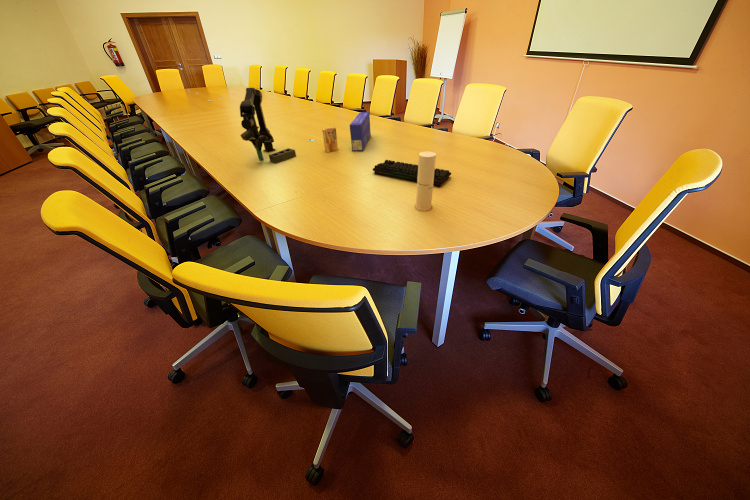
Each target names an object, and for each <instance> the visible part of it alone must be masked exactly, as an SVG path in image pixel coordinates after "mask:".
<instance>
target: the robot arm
mask: <svg viewBox="0 0 750 500" xmlns="http://www.w3.org/2000/svg"><path fill="white" fill-rule="evenodd" d="M262 103H263V93H262V91H261V90H260V89H258V88H255V87H246V88H245V95H244V99H243V100H242V101H241V102H240V104H239V114H240V118H242V120H241V122H240V124H241V125H240V126H241V127H242V128H243V129H244V130H245V131H243V132H242V133H241V134H240V135H239V136H240V137H241V139H242V140H243V141H246V142H250V143H251V144H252V146H253V147H254V149H255V150H256V148H255V144H257V146H258V149H259V151H262V152H266V153H272V152H274V151H276V149H275V148H274V144H273V143H274V142H275V139H274V137H273V135H272V133H271V131H270V130H269V128H268V127H267V124H266V120H265V115H264V111H263V107H262ZM255 115H256V117H255ZM256 119H257V121H256ZM257 123H258V125H259V126H258V125H257ZM263 147H264V149H262V148H263Z"/></svg>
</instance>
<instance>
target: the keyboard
mask: <svg viewBox="0 0 750 500" xmlns="http://www.w3.org/2000/svg"><path fill="white" fill-rule="evenodd" d="M372 171H373V173H374V175H376V176H377V175H378V176H381V177H387V178H391V179H397V180H400V181H407V182H411V183H415V184H417V178H418V164H415V163H414V164H413V163H407V162H403V161H395V160H391V159H384V162H380V163H377V164H375V165H374V167H373V168H372ZM451 175H452V172H450V170H448V169H442V168H436V167H435V171H434V182H433V187H436V188H440V187H442V186H443V185H444V184H445V183H446V182H447V181H448V180H449V179H450V177H451Z"/></svg>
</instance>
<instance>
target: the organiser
mask: <svg viewBox="0 0 750 500" xmlns="http://www.w3.org/2000/svg"><path fill="white" fill-rule="evenodd" d="M296 153H297V152H296V149H293V148H290V147H289V148H285V149H283V150H280V151H276V152H273V153H270V154H268V158H269V162H270V163H273V164H279V163H281V162H285V161H287V160H290V159H293V158H295V157H297V154H296Z"/></svg>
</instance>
